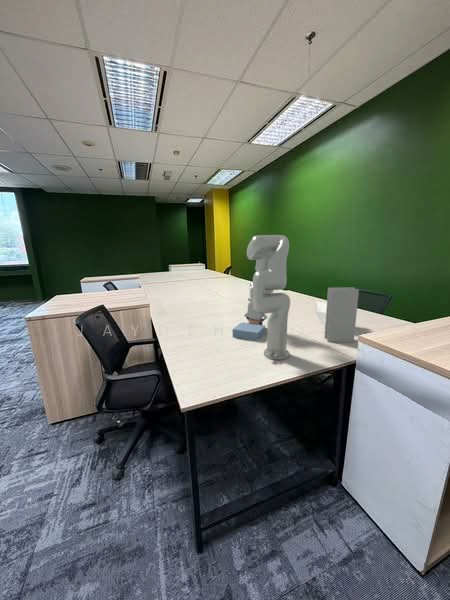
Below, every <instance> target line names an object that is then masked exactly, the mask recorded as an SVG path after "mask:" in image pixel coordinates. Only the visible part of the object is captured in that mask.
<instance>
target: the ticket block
mask: <svg viewBox="0 0 450 600" xmlns="http://www.w3.org/2000/svg"><path fill="white" fill-rule="evenodd" d="M265 333H266V325H265V324H262V325H258V324H249V322H240V323H239V324H237V325H236V326H234V327H233V328H232V338H236V339H243V340H248V341H249V340H250V341H254V342H255V341H256V342H258V341H259V340H260V339H261V338H262V337H263V336H264V335H265Z"/></svg>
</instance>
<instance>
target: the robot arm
mask: <svg viewBox="0 0 450 600" xmlns="http://www.w3.org/2000/svg"><path fill="white" fill-rule="evenodd" d="M289 250H290V241H289V239H288V237H287V236H286V235H281V234H266V235H264V234H263V235H262V234H261V235H254V236H253V237H252V238H251V240H249V243H248V245H247V248H246V257H247V259H248V260H249V261H252V260H253V261H254V260H256V262H255V267H254V269H255V272H254V274H253V277H252V281H251V282H249V298H247V301H249V302H248V305H247V312H246V313H245V314H244V317H245V318H246V320H247V321H248V322H249V321H250V320H251V319H252V318H254V319H259V321H260V323H259V325H263V322H264V321H265V320H266V319H267V330H266V333H267V336H266V338H267V339H266V348H265V349H264V351H263V354H264V356H265V357H266V358H268V359H270V360H278V361H283V360H286V359H288V358H289V357H290V351H289V350H288V349H287V341H288V339H287V338H288V319H289V318H288V317H289V311H290V307H291V298H290V295H288V294H287V293H284V292H274V291H277V290H278V291H280V290H283V289H285V288H286V287H287V282H288V281H287V280H288V279H287V278H288V277H287V275H288V274H287V259H288V254H289ZM266 314H270V315H269V317H268V316H267V315H266Z"/></svg>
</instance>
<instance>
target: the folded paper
mask: <svg viewBox="0 0 450 600" xmlns="http://www.w3.org/2000/svg"><path fill="white" fill-rule="evenodd" d="M326 309H327V302H323V301H318V300H316V301H315V314H316V316H317V318H318V320H319V323H320V324H321V325H322V324H323V325H325V323H326Z"/></svg>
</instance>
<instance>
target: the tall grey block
mask: <svg viewBox="0 0 450 600" xmlns="http://www.w3.org/2000/svg"><path fill="white" fill-rule="evenodd" d="M359 293H360V288H356V287H328V288H327V296H326V298H327V299H326V303H327V309H326V323H325V324H324V336H323V338H324V339H326V342H327V343H328V342H329V343H354V340H355V333H356V332H355V329H356V321H357V313H358V302H359V295H360V294H359Z"/></svg>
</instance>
